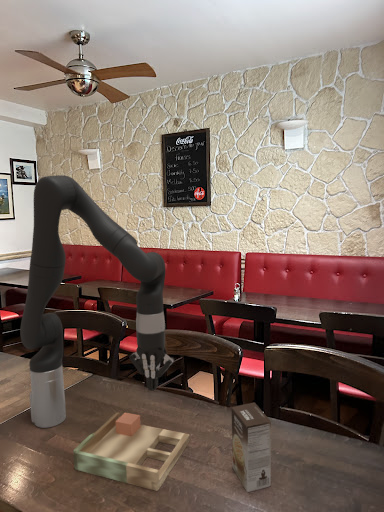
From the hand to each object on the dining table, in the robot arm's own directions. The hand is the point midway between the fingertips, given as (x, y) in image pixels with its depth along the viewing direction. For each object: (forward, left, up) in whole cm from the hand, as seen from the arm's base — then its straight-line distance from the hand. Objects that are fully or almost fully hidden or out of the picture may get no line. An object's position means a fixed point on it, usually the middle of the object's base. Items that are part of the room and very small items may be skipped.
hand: (152, 389), depth 105 cm
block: (-8, 0, -13) cm, 15 cm away
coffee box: (+28, -5, -15) cm, 32 cm away
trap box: (-2, -7, -15) cm, 17 cm away
